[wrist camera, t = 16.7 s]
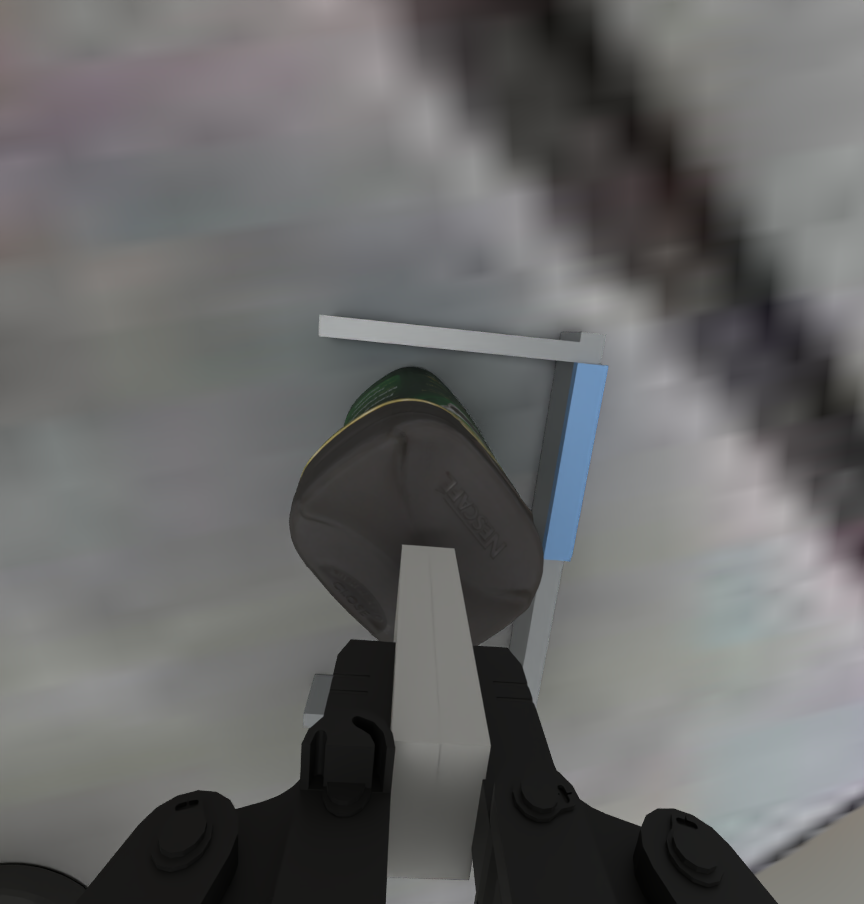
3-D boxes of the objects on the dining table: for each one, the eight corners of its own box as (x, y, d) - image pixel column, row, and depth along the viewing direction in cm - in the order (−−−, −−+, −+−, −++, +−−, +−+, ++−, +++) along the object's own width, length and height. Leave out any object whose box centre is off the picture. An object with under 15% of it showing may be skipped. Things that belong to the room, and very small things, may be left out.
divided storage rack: (314, 693, 38) (300, 741, 33) (331, 307, 31) (317, 303, 26) (523, 704, 39) (537, 753, 35) (589, 335, 32) (619, 335, 27)
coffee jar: (329, 418, 32) (223, 525, 14) (418, 347, 31) (424, 367, 13) (414, 519, 35) (415, 721, 17) (500, 456, 34) (600, 597, 16)
